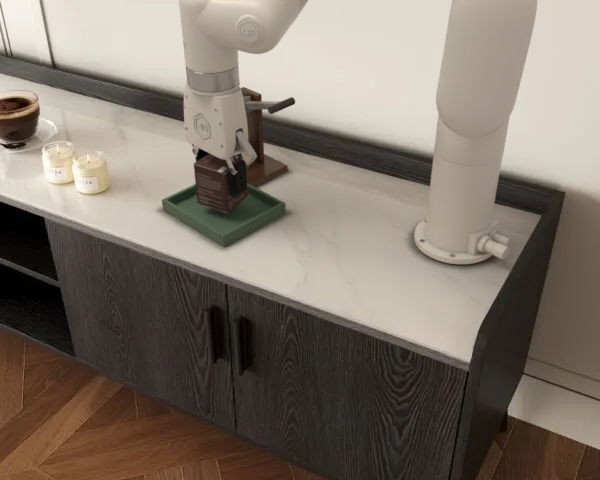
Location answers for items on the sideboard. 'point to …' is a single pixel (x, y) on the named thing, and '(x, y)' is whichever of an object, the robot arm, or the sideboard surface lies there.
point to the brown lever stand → (259, 147)
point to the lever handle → (267, 104)
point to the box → (215, 184)
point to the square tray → (225, 214)
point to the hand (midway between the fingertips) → (222, 183)
